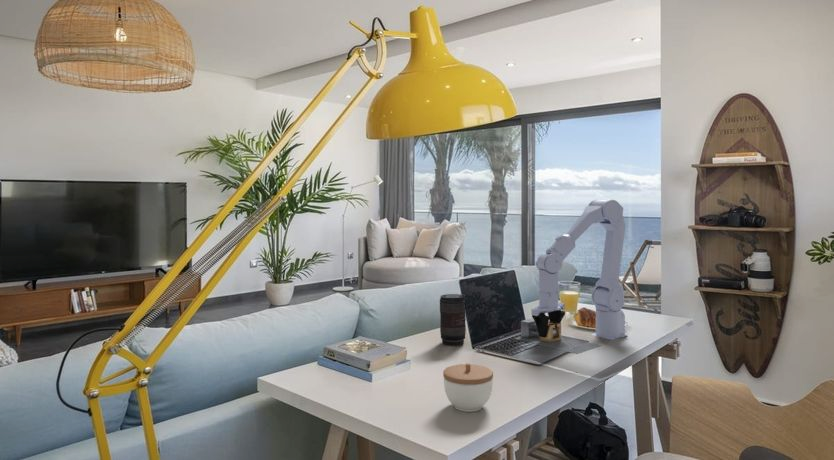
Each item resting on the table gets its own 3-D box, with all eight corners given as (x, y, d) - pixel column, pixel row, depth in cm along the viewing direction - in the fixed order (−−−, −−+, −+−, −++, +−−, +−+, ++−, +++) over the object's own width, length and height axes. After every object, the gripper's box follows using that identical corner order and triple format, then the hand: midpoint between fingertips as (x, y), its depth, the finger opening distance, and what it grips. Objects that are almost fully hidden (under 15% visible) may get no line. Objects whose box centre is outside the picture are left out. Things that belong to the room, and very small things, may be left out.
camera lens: (466, 340, 172) (465, 293, 171) (465, 347, 164) (465, 298, 163) (440, 339, 172) (440, 293, 172) (439, 346, 164) (438, 297, 164)
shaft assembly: (534, 333, 177) (534, 317, 176) (561, 339, 169) (561, 323, 168) (521, 337, 172) (521, 320, 172) (548, 343, 164) (548, 326, 164)
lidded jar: (459, 394, 124) (459, 354, 124) (501, 403, 118) (501, 361, 118) (434, 409, 116) (433, 366, 115) (478, 420, 110) (478, 375, 109)
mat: (539, 333, 179) (539, 331, 179) (601, 347, 161) (601, 345, 161) (513, 340, 171) (513, 338, 171) (576, 355, 153) (576, 353, 153)
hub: (550, 337, 171) (550, 320, 171) (561, 340, 168) (561, 322, 168) (540, 340, 167) (540, 323, 167) (550, 343, 164) (550, 325, 164)
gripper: (545, 296, 160) (544, 341, 160) (573, 290, 169) (573, 333, 170) (525, 293, 165) (525, 337, 166) (554, 288, 174) (554, 329, 175)
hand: (548, 335), depth 168 cm, fingers closed on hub, 5 cm apart
